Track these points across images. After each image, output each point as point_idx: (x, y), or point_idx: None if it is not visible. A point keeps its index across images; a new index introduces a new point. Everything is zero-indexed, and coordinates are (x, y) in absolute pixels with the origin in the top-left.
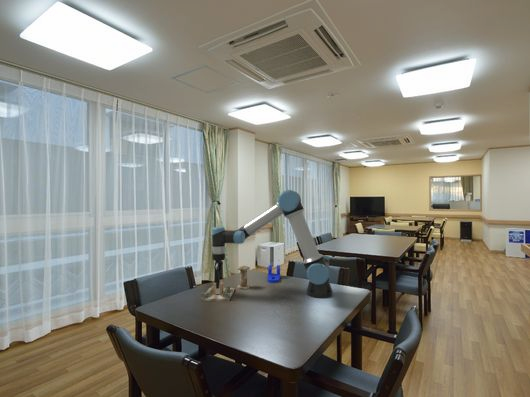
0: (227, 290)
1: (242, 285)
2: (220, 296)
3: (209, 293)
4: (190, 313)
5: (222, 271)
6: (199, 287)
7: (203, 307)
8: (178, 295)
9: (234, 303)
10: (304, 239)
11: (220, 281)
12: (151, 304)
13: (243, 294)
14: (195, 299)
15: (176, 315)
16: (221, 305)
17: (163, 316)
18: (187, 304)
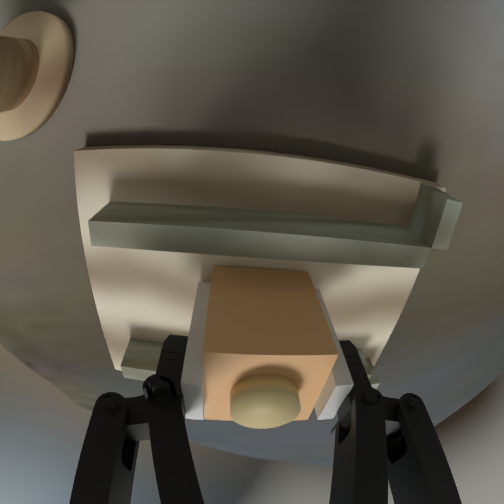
0: (291, 227)
1: (26, 75)
2: (370, 272)
3: None
4: (488, 348)
5: (106, 490)
6: (94, 399)
7: (465, 326)
8: (243, 448)
9: (484, 144)
10: None
11: (281, 390)
12: None
13: (259, 24)
14: None
15: (475, 379)
16: (485, 237)
17: (459, 403)
18: (391, 397)
